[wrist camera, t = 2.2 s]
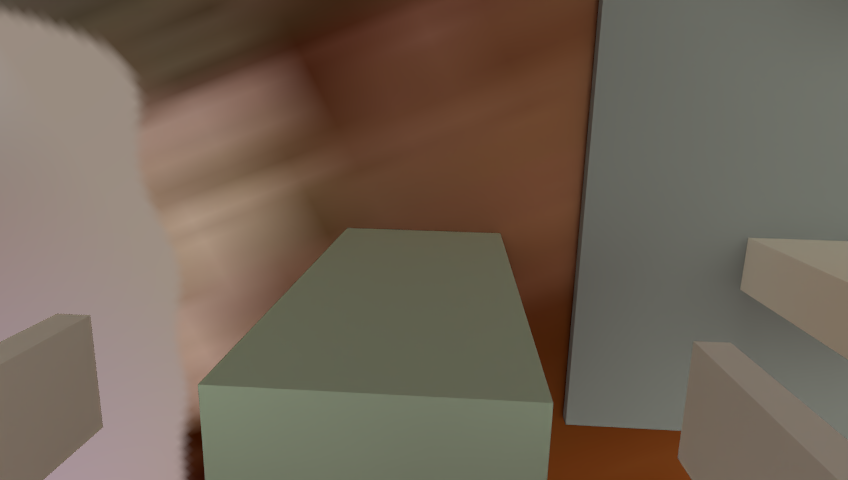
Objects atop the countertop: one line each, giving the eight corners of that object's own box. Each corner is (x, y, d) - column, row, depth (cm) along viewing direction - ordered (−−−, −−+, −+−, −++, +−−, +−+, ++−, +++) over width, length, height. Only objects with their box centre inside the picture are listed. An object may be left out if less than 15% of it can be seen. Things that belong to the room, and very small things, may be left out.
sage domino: (500, 233, 22) (552, 403, 9) (497, 282, 22) (544, 508, 10) (347, 228, 22) (197, 384, 10) (348, 276, 23) (205, 486, 10)
